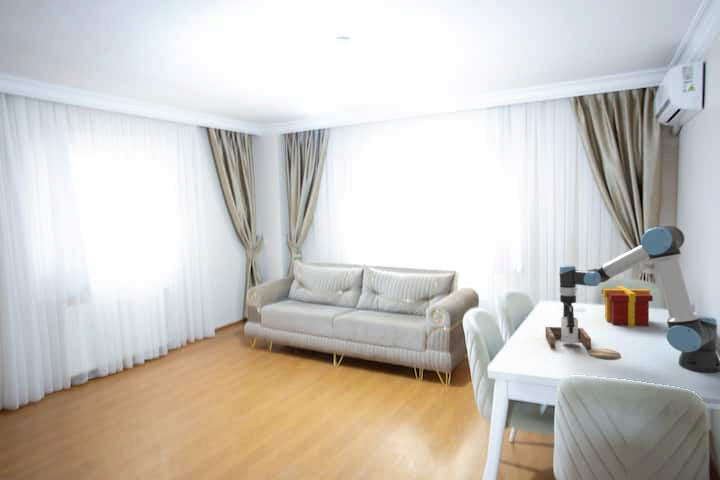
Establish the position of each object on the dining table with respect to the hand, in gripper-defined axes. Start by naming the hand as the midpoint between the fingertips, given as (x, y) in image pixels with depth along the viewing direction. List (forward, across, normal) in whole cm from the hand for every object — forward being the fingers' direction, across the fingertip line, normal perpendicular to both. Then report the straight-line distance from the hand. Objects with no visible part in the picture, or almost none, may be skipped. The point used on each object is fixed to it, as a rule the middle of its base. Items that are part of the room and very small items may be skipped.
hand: (568, 336), depth 234 cm
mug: (+3, 0, 0) cm, 3 cm away
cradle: (+5, +4, 0) cm, 6 cm away
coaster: (+5, -13, -14) cm, 19 cm away
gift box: (+5, +54, -42) cm, 69 cm away
